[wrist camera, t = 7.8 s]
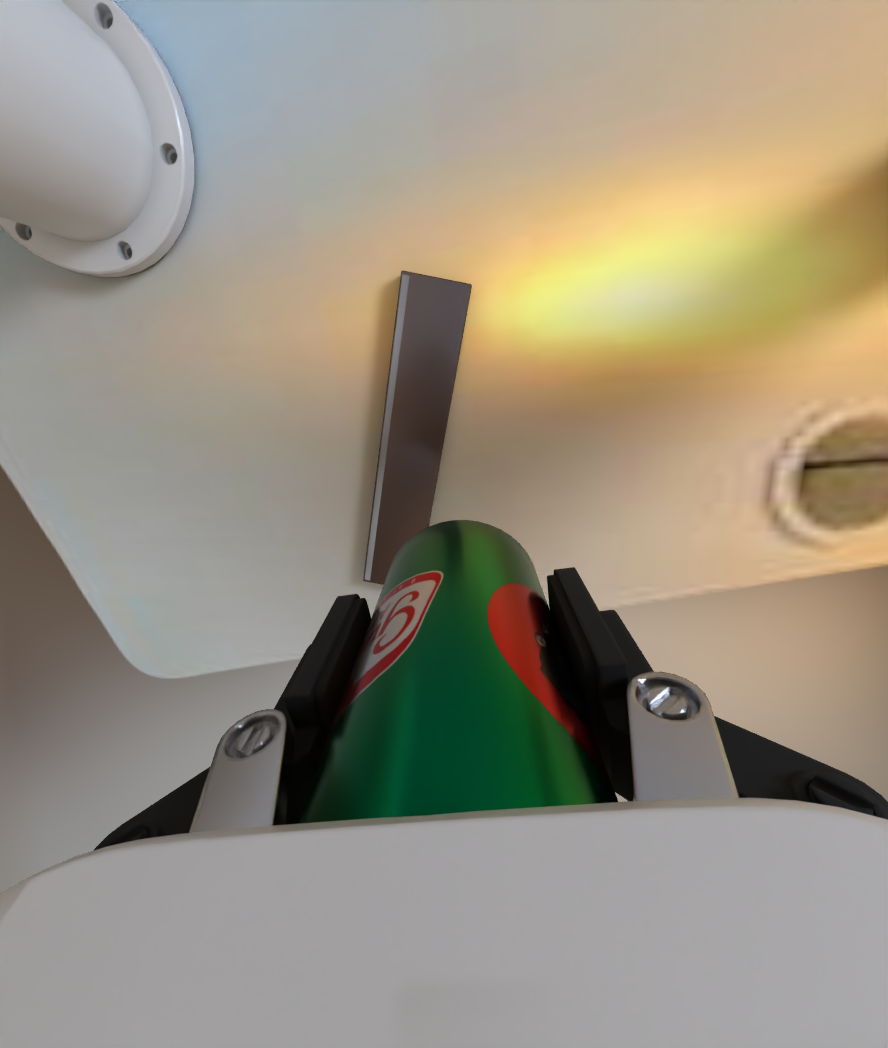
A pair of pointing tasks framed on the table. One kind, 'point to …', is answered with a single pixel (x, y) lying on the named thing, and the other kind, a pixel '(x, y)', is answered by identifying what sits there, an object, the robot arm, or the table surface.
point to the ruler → (415, 413)
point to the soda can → (458, 692)
